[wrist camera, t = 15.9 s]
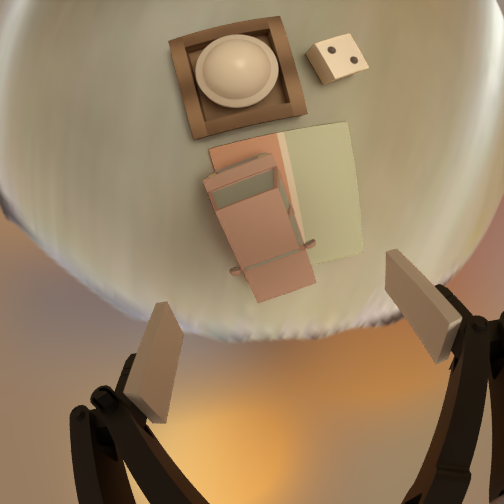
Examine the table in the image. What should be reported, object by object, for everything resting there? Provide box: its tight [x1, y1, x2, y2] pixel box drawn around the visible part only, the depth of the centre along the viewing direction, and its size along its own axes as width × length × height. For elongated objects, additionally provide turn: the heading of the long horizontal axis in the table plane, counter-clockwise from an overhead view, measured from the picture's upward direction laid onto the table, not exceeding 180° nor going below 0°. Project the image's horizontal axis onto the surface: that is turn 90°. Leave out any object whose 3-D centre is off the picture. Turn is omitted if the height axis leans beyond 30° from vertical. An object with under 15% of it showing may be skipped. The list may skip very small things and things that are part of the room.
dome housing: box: [168, 16, 308, 140], centre depth 24 cm, size 12×12×3 cm
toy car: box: [203, 152, 316, 303], centre depth 27 cm, size 9×15×10 cm, turn 21°
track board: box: [209, 122, 363, 281], centre depth 32 cm, size 17×16×1 cm
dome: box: [195, 35, 278, 109], centre depth 22 cm, size 8×8×7 cm
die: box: [306, 33, 369, 85], centre depth 23 cm, size 4×4×5 cm
